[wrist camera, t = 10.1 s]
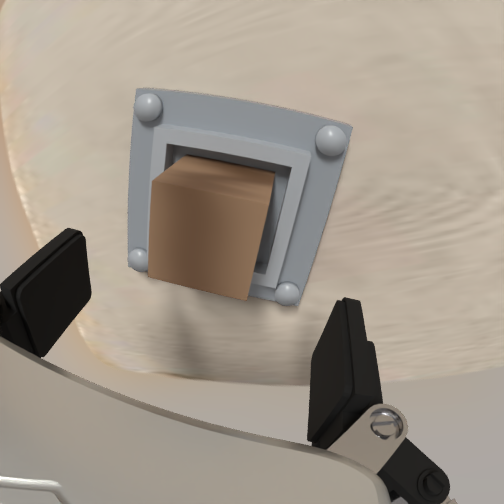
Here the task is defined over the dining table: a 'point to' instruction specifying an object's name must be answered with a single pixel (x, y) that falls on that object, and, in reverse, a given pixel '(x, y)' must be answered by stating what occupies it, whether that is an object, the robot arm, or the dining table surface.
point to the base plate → (250, 154)
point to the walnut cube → (208, 224)
